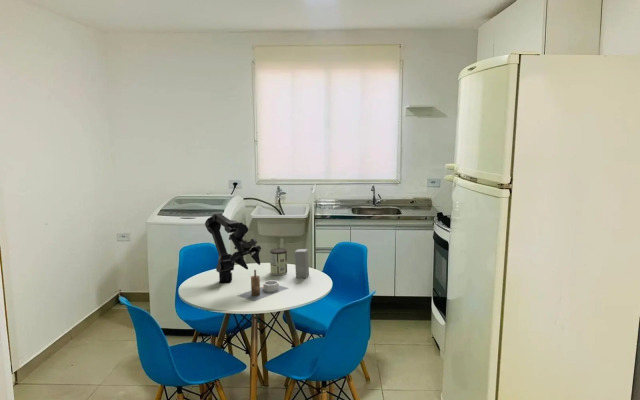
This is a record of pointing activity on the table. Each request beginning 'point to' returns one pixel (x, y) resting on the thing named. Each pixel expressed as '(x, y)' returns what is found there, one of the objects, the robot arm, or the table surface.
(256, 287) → the brown tall cylinder
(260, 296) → the tool board
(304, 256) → the skincare box
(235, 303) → the table surface
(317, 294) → the table surface
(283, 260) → the coffee can
